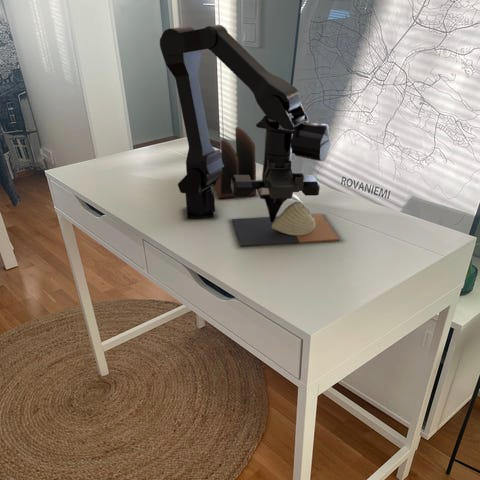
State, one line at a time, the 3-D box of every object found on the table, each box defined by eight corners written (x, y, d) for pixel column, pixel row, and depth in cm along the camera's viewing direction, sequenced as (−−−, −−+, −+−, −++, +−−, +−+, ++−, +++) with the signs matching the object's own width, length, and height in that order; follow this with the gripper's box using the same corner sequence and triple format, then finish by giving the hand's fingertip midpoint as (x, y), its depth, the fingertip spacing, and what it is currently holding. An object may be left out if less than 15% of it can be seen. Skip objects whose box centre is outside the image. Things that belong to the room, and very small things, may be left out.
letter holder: (238, 172, 145) (238, 122, 137) (256, 195, 130) (257, 141, 122) (206, 175, 143) (204, 124, 135) (219, 199, 128) (218, 144, 120)
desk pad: (240, 246, 105) (240, 245, 105) (232, 220, 116) (232, 219, 116) (338, 240, 108) (339, 238, 107) (321, 215, 119) (321, 214, 119)
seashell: (325, 225, 108) (301, 214, 103) (300, 249, 113) (275, 239, 108) (314, 199, 112) (290, 188, 107) (290, 224, 117) (265, 214, 112)
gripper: (238, 164, 94) (235, 238, 103) (331, 164, 96) (320, 236, 105) (231, 147, 103) (229, 216, 112) (317, 148, 105) (308, 216, 114)
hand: (271, 221), depth 111 cm, fingers closed, pressing on seashell
